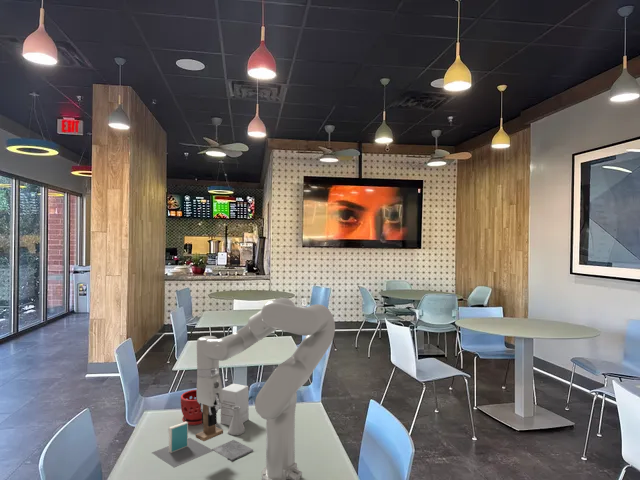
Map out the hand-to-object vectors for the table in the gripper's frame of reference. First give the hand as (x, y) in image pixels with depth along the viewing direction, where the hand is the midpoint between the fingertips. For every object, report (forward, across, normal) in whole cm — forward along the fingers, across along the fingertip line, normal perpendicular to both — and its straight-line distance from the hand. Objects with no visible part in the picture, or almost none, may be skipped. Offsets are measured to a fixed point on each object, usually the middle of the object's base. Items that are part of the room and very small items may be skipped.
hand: (209, 423), depth 147 cm
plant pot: (+13, +35, -16) cm, 41 cm away
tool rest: (+14, +1, -10) cm, 17 cm away
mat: (+13, +14, +2) cm, 20 cm away
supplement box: (+14, +22, -28) cm, 38 cm away
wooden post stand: (+4, 0, 0) cm, 4 cm away
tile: (+13, +17, +2) cm, 22 cm away
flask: (+14, +13, -22) cm, 29 cm away
